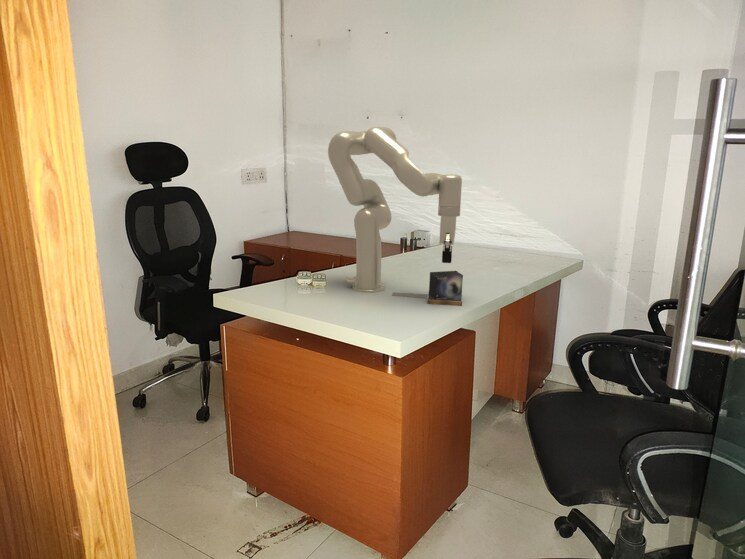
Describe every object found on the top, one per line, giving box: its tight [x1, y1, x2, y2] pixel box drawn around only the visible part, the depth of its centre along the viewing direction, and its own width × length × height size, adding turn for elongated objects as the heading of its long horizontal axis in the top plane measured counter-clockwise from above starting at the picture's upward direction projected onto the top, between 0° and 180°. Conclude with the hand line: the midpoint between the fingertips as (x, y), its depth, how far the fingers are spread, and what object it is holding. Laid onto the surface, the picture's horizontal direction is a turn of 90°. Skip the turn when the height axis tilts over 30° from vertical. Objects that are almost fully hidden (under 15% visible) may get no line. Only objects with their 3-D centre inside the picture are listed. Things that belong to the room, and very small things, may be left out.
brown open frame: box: [426, 298, 463, 307], centre depth 187 cm, size 12×14×2 cm
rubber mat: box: [391, 292, 429, 300], centre depth 189 cm, size 13×11×1 cm
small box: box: [427, 270, 464, 301], centre depth 186 cm, size 11×6×10 cm, turn 105°
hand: (446, 259), depth 183 cm, fingers open, 9 cm apart
